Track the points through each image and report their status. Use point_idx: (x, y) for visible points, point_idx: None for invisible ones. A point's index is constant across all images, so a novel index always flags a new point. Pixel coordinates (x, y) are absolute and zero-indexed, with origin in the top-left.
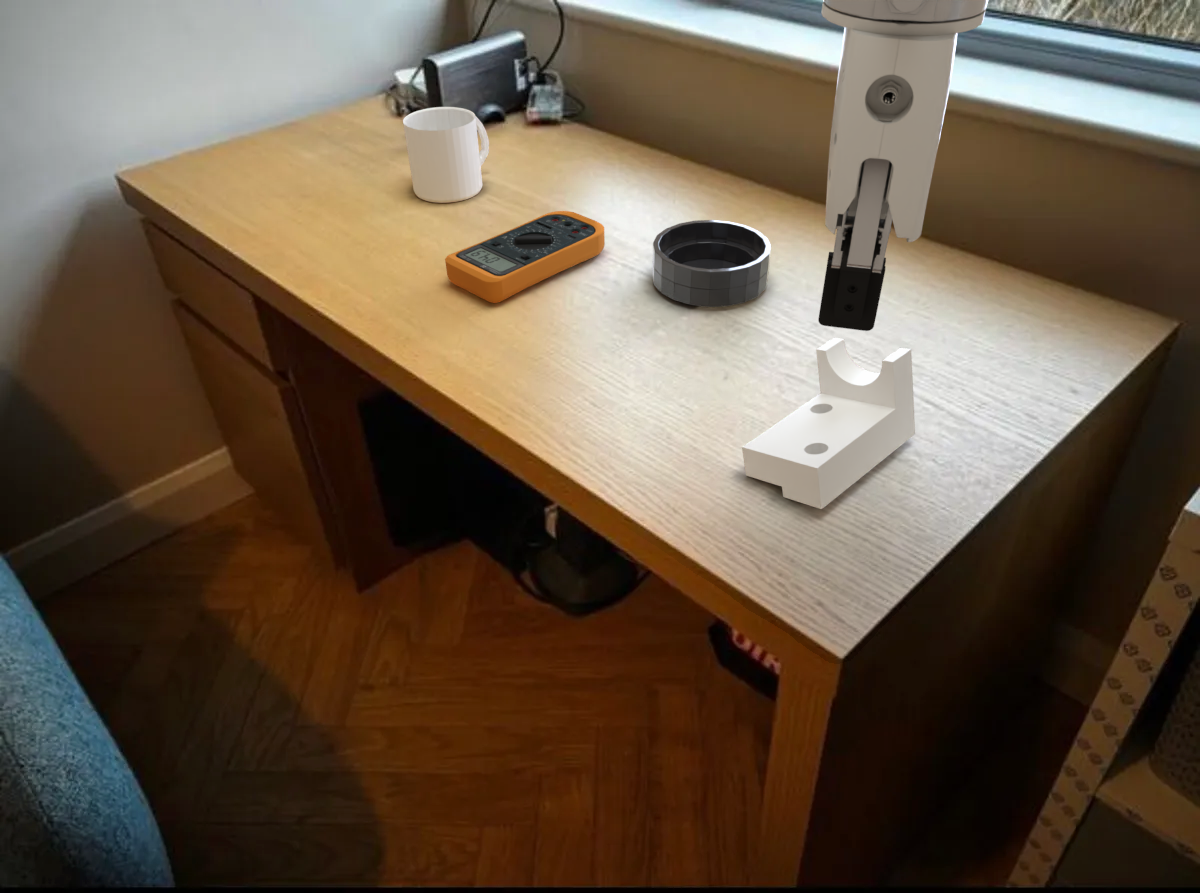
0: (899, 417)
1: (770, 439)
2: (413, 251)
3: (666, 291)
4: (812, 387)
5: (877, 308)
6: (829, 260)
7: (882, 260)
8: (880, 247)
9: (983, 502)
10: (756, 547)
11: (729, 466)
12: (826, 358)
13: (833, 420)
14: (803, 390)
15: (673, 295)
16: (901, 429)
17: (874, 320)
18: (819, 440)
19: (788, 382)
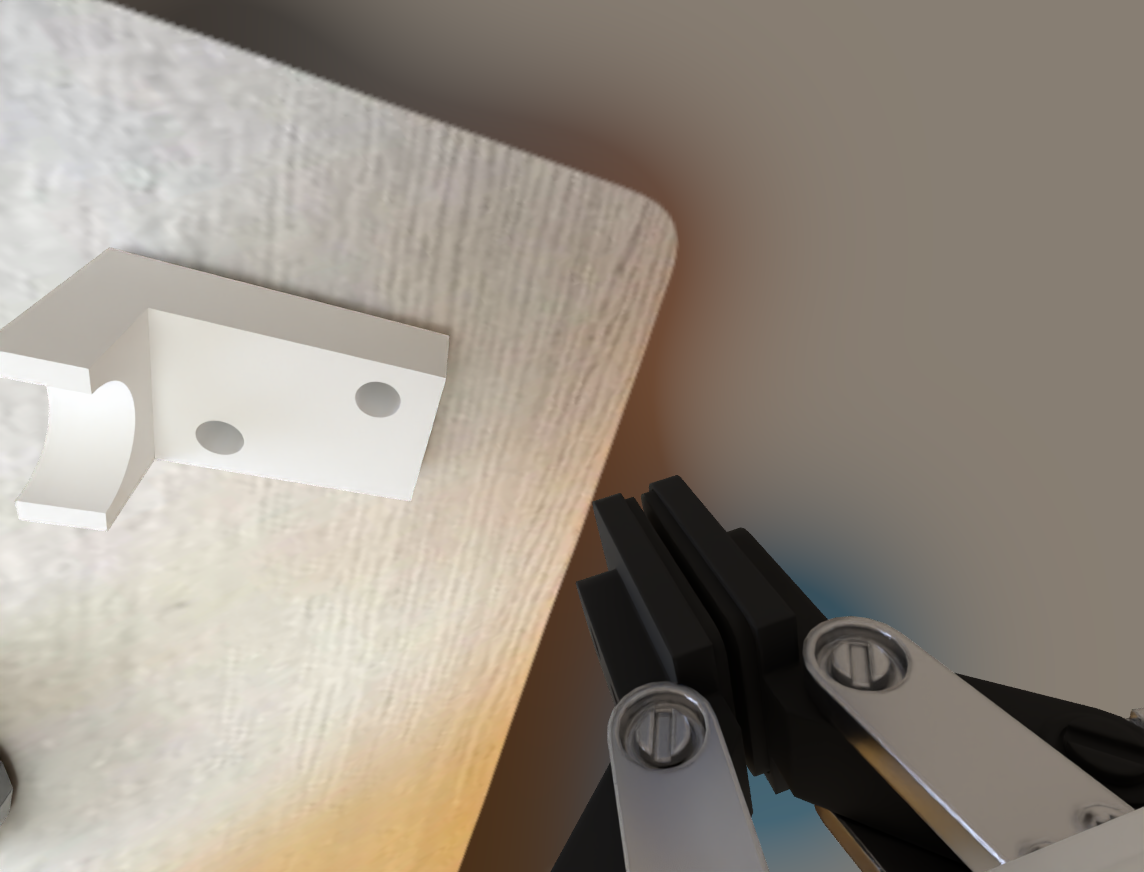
0: (145, 291)
1: (371, 474)
2: None
3: (4, 812)
4: None
5: (707, 511)
6: (775, 788)
7: (951, 672)
8: (1102, 753)
9: (219, 57)
10: (555, 387)
11: None
12: (115, 499)
13: (258, 405)
14: None
15: (7, 797)
16: (153, 276)
17: (688, 488)
18: (346, 404)
19: None
